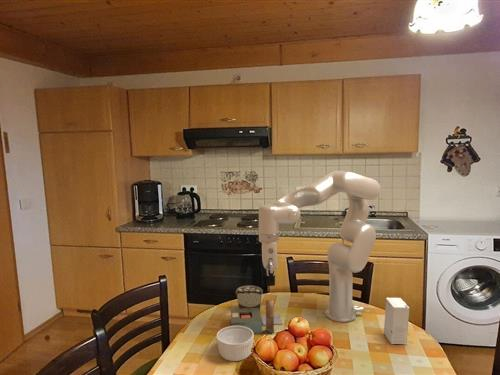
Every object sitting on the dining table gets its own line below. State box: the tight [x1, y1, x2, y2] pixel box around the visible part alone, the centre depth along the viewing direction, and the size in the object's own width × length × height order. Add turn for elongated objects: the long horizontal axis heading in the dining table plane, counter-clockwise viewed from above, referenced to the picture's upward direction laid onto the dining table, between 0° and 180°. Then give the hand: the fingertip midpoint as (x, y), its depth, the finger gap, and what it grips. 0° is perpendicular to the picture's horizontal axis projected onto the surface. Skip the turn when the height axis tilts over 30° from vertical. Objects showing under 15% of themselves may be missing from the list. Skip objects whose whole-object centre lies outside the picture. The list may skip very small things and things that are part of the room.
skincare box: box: [383, 297, 410, 345], centre depth 133 cm, size 8×6×15 cm
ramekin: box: [216, 325, 255, 362], centre depth 126 cm, size 13×13×7 cm
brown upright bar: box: [265, 299, 275, 335], centre depth 139 cm, size 3×3×13 cm
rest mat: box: [261, 314, 283, 327], centre depth 150 cm, size 8×8×1 cm
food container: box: [235, 285, 264, 311], centre depth 161 cm, size 12×6×10 cm, turn 84°
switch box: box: [230, 308, 263, 335], centre depth 145 cm, size 12×12×5 cm
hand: (268, 280), depth 137 cm, fingers open, 9 cm apart
